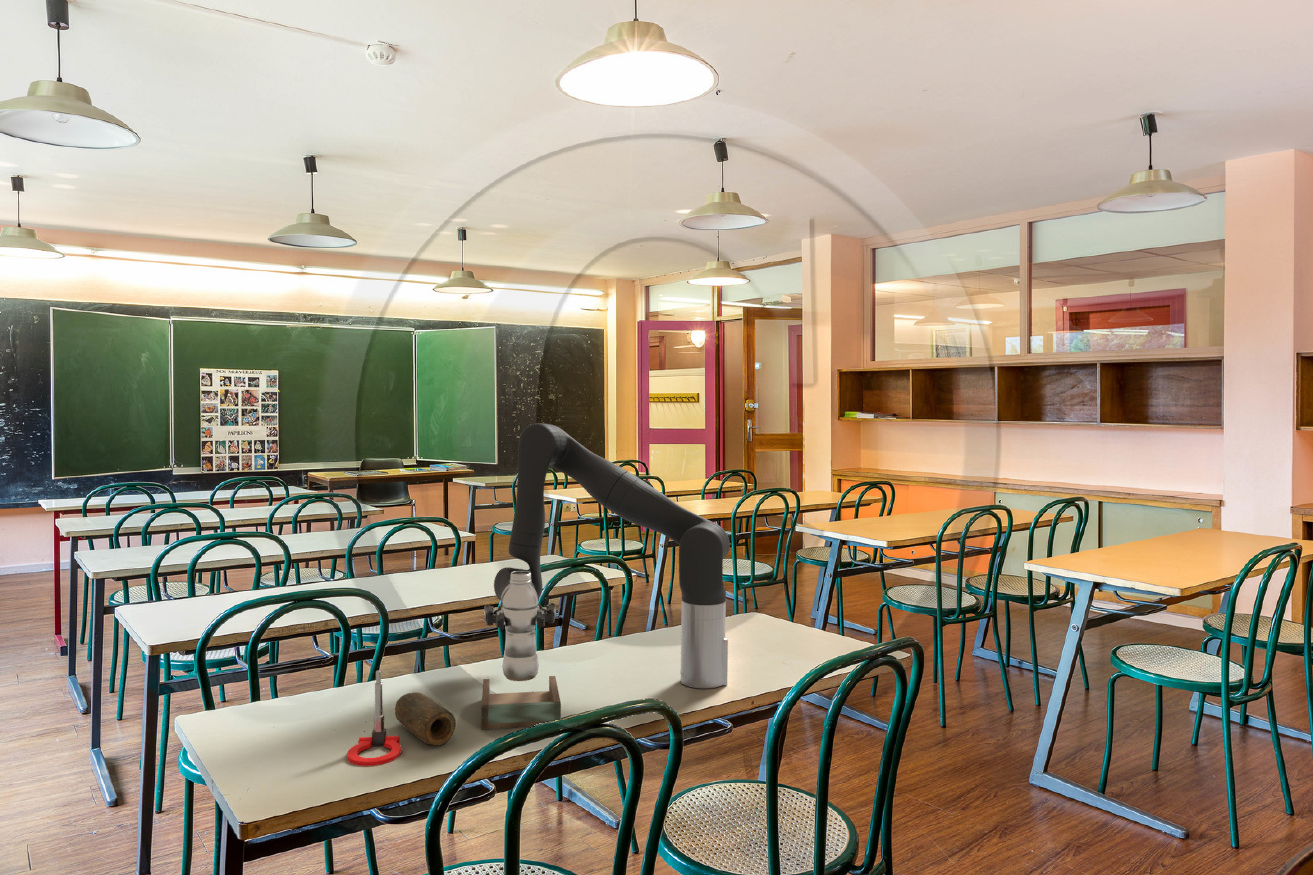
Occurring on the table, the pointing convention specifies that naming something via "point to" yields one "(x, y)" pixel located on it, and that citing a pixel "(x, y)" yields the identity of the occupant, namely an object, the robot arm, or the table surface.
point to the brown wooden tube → (425, 718)
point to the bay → (519, 707)
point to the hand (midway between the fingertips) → (520, 624)
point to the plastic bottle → (520, 629)
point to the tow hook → (376, 736)
